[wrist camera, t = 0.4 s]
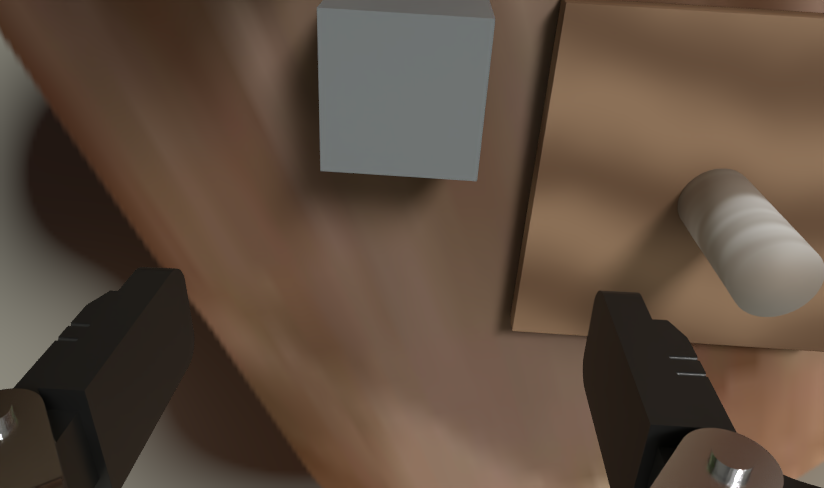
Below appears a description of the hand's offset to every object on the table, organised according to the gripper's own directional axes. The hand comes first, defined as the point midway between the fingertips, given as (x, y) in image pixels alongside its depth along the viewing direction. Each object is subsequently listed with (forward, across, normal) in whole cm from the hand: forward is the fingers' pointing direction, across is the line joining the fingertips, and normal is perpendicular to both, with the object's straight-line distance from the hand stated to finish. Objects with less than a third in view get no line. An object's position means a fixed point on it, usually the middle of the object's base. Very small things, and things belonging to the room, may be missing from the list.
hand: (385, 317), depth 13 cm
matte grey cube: (+18, +1, -1) cm, 18 cm away
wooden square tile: (+18, -13, +5) cm, 23 cm away
